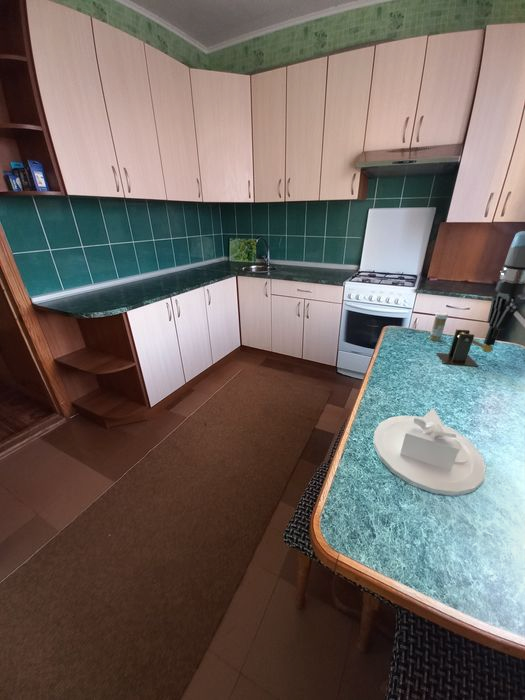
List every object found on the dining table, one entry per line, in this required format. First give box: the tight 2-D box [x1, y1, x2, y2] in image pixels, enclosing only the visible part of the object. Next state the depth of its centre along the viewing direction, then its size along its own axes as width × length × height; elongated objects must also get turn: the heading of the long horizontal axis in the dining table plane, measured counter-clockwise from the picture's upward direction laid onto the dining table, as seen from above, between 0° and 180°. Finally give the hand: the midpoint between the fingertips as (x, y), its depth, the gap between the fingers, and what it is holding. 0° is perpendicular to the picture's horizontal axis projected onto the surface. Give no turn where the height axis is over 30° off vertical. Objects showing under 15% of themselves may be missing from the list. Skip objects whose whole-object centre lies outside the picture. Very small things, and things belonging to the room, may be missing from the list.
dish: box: [372, 407, 487, 497], centre depth 71 cm, size 25×25×11 cm
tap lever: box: [457, 332, 494, 354], centre depth 109 cm, size 13×3×3 cm, turn 78°
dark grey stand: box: [435, 329, 479, 368], centre depth 111 cm, size 12×9×13 cm
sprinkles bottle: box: [429, 311, 449, 342], centre depth 128 cm, size 5×5×14 cm
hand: (488, 343), depth 108 cm, fingers closed
